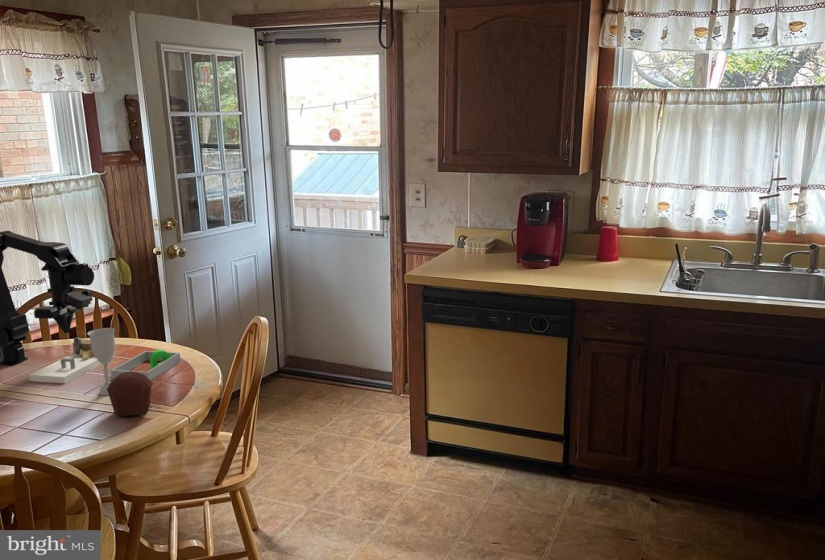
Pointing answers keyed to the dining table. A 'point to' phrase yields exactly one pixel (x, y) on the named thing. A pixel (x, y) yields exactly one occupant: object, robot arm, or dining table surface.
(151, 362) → the mechanical part
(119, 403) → the muffin
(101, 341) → the chalice
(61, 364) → the door board
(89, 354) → the bolt
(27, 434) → the dining table surface
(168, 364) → the frame
